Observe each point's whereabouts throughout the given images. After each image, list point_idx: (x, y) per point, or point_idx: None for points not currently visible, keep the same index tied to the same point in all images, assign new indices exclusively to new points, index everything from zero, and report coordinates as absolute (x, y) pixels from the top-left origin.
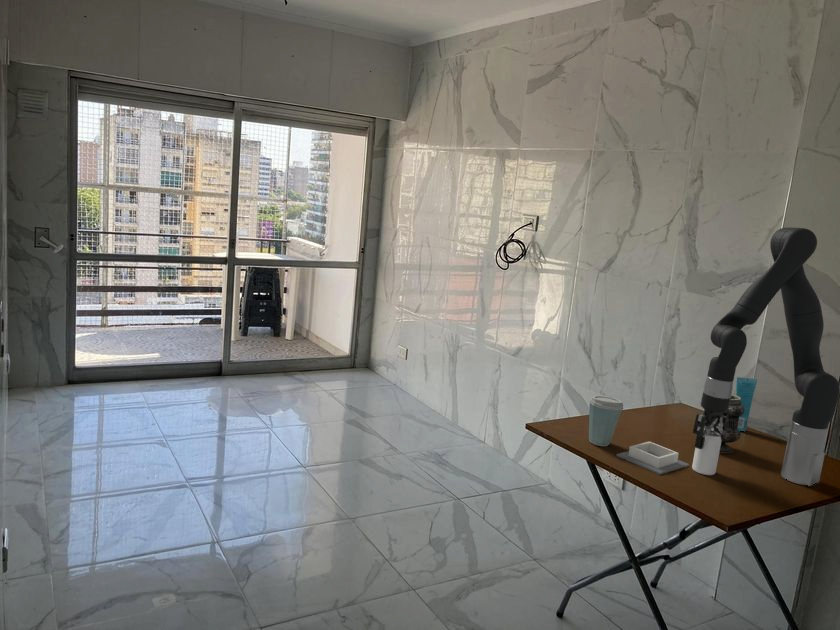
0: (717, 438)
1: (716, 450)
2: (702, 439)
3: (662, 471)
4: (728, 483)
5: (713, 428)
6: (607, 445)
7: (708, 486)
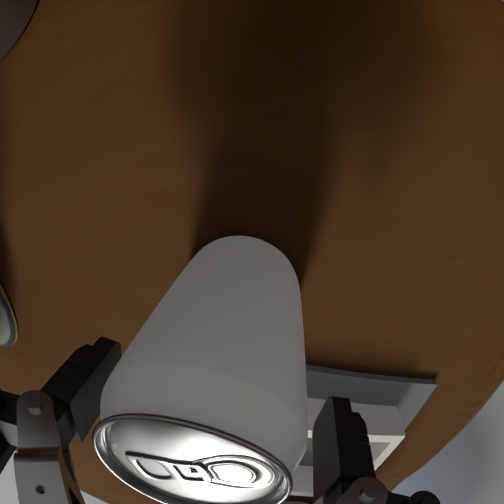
0: (232, 414)
1: (256, 319)
2: (356, 463)
3: (418, 387)
4: (300, 142)
5: (70, 461)
6: (295, 502)
7: (429, 212)
